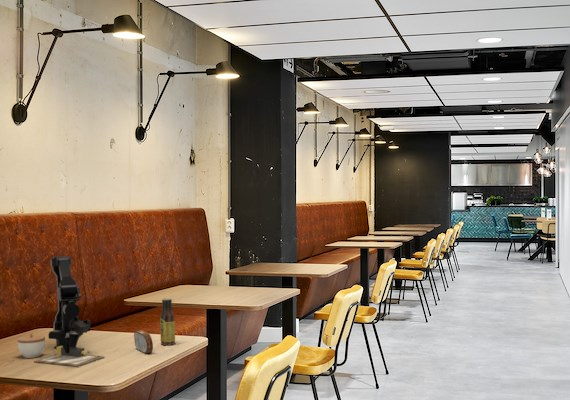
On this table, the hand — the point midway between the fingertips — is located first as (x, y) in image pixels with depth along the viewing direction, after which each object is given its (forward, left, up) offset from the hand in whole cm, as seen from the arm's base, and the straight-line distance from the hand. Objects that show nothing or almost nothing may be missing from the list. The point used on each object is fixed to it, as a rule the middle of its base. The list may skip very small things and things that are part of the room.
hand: (70, 352), depth 303 cm
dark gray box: (0, 0, -1) cm, 1 cm away
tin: (+23, +18, -2) cm, 29 cm away
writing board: (+4, -5, -2) cm, 7 cm away
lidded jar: (-16, -5, -2) cm, 17 cm away
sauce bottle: (+25, +33, -2) cm, 41 cm away
